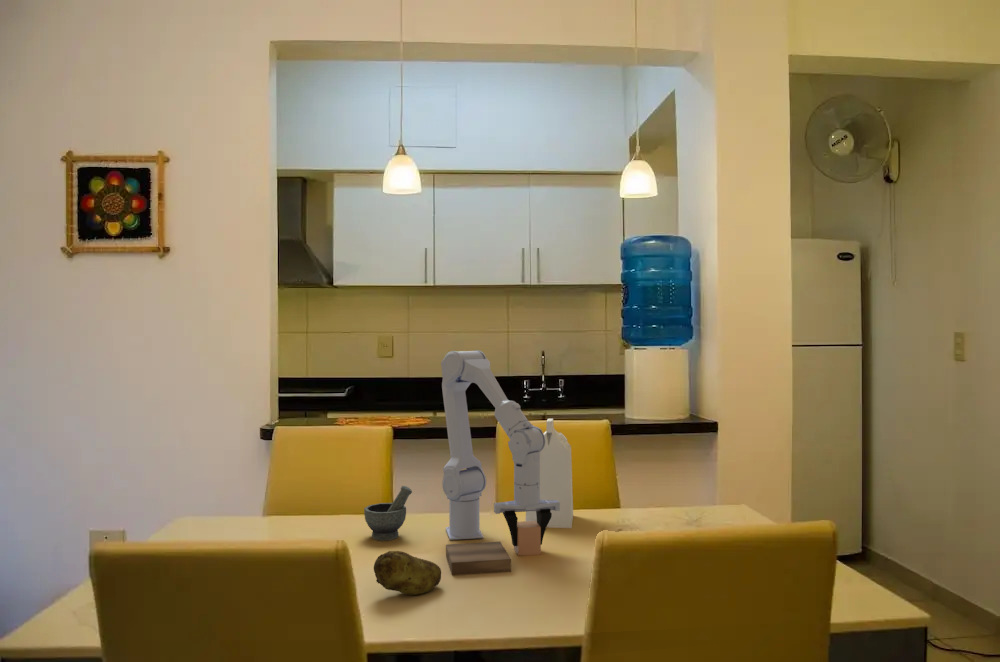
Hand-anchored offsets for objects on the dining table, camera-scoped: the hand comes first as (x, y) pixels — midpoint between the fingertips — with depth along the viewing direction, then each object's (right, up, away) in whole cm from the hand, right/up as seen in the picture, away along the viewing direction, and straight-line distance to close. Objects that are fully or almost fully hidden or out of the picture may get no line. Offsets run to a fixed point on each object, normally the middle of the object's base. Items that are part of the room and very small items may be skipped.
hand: (527, 544), depth 154 cm
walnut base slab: (-11, -2, -8) cm, 14 cm away
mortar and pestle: (-33, -2, +11) cm, 35 cm away
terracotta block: (0, -2, 0) cm, 2 cm away
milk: (+7, -2, +25) cm, 26 cm away
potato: (-23, -2, -24) cm, 34 cm away
